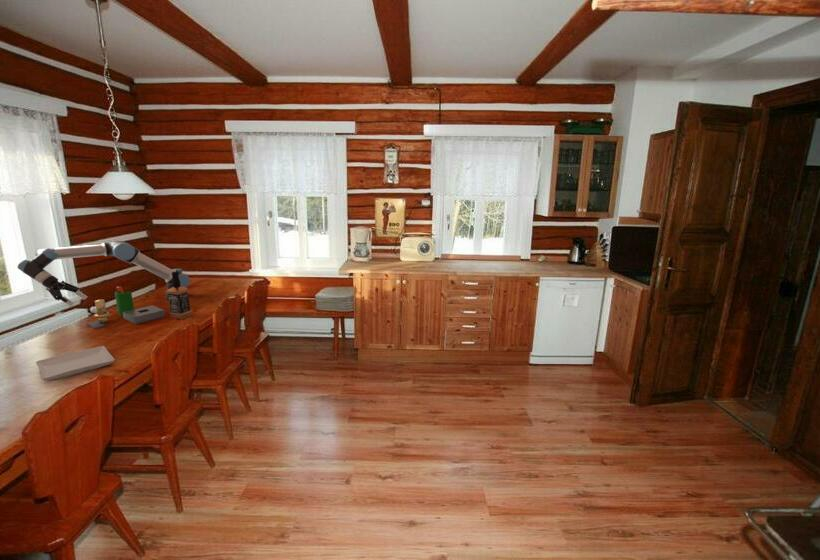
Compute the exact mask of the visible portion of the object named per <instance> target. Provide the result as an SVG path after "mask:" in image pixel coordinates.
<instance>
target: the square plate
mask: <svg viewBox="0 0 820 560" xmlns="http://www.w3.org/2000/svg"><path fill="white" fill-rule="evenodd" d="M115 360H116V359H115V358H114V357H113V355H112V354H111V353H110V352H109V351H108V349H107V348H106V346H104V345H100V346H96V347H92V348H87V349H82V350H77V351H73V352H68V353H64V354H59V355H56V356H53V357H52V356H51V357H48V358H43V359H40V360H38V361H36V362H35V364H36V365H37V367H38V369H39V373H40V374H39V375H40V377H41V379H42V380H45V381H52V380H53V381H54V380H56V379H63V378H67V377H71V376H74V375H77V374H81V373H86V372H88V371H92V370H97V369H100V368H102V367H105V366H108V365H111V364H113V363H114V362H115Z"/></svg>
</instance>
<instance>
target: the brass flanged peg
mask: <svg viewBox="0 0 820 560" xmlns="http://www.w3.org/2000/svg"><path fill="white" fill-rule="evenodd" d="M94 305H95V312H96V313H94V315H93V316H94V318H95V319H96V318H97V319H98V320H99V323H106V322H108V316H110V315H111V314H110V311H107V307H106V301H105V299H104V298H103V299H96V300H94ZM98 320H97V321H98Z"/></svg>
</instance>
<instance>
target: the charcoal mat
mask: <svg viewBox="0 0 820 560" xmlns="http://www.w3.org/2000/svg"><path fill="white" fill-rule="evenodd" d="M86 325H87V326H88V327H90V328H92V329H94V330H95V329H99V328H100V329H101V328H105V327H108V326H109V325H108V324H106V323H105V322H103V323H99V320H94V321H91V322H86Z"/></svg>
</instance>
